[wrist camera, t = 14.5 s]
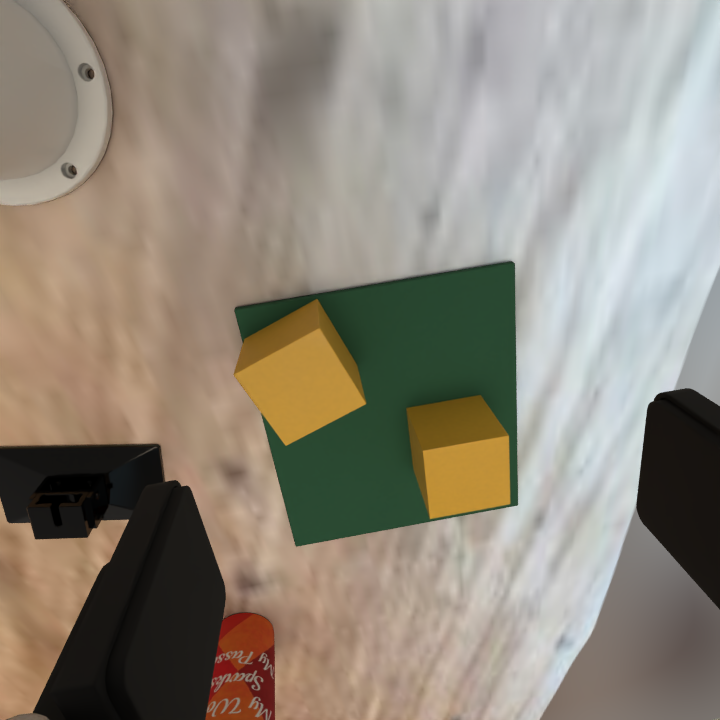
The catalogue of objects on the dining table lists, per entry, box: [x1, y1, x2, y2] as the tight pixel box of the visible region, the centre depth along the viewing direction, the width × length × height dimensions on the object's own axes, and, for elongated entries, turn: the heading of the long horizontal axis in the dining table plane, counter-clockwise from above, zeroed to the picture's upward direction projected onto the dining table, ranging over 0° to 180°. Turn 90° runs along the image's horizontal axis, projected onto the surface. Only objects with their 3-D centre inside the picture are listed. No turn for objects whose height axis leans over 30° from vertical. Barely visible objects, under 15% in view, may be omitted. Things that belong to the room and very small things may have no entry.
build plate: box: [0, 444, 165, 539], centre depth 37 cm, size 12×7×5 cm, turn 87°
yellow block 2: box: [406, 395, 510, 519], centre depth 38 cm, size 6×6×6 cm
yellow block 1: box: [234, 299, 366, 446], centre depth 33 cm, size 6×6×6 cm
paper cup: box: [205, 613, 275, 720], centre depth 41 cm, size 8×8×14 cm
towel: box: [235, 261, 518, 546], centre depth 40 cm, size 20×22×1 cm
